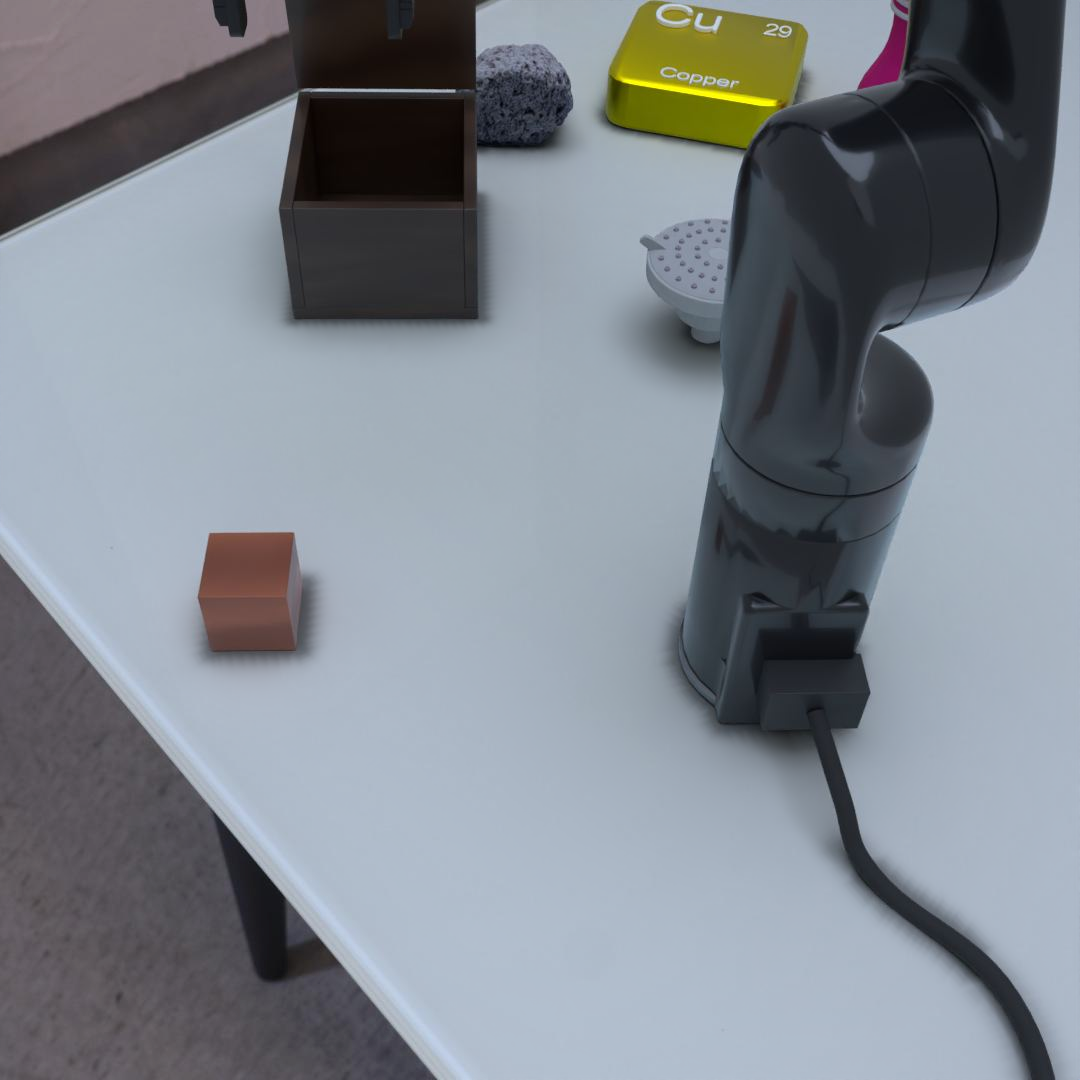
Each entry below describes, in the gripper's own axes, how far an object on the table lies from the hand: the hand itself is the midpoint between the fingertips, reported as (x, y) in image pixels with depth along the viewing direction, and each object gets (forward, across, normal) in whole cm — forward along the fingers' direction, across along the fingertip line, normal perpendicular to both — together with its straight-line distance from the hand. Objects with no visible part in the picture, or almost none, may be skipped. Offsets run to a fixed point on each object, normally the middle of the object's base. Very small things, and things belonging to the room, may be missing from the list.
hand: (318, 32), depth 72 cm
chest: (+23, +2, +12) cm, 25 cm away
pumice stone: (+23, +12, +30) cm, 39 cm away
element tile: (+23, +28, +35) cm, 50 cm away
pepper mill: (+23, +42, +26) cm, 54 cm away
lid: (+6, +2, +17) cm, 18 cm away
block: (+23, -4, -22) cm, 32 cm away
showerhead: (+23, +24, +3) cm, 33 cm away
